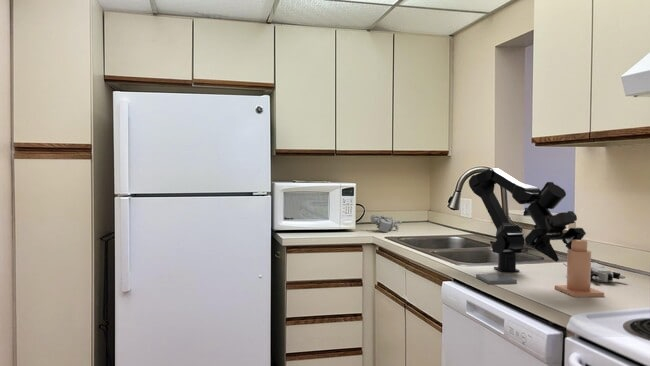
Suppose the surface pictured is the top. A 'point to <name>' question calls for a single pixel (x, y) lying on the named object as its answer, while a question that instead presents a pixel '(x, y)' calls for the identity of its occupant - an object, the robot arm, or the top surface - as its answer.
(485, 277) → the slate tile
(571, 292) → the terracotta tile
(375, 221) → the figurine
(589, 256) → the terracotta vase
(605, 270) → the robot toy
